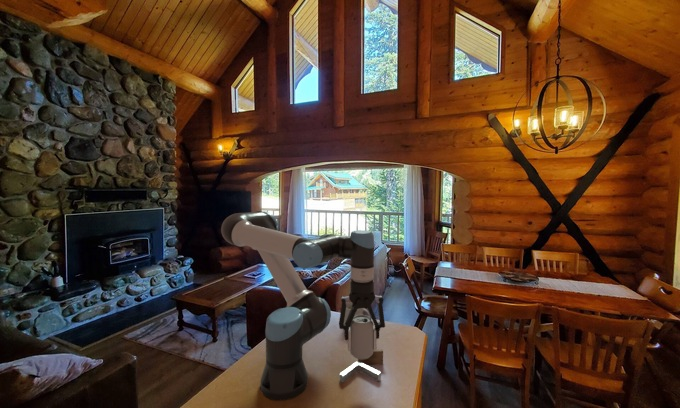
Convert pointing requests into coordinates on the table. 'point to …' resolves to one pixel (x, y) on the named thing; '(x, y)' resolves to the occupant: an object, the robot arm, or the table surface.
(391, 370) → the table surface
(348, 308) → the mug
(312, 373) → the table surface
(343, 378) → the v block
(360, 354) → the can
